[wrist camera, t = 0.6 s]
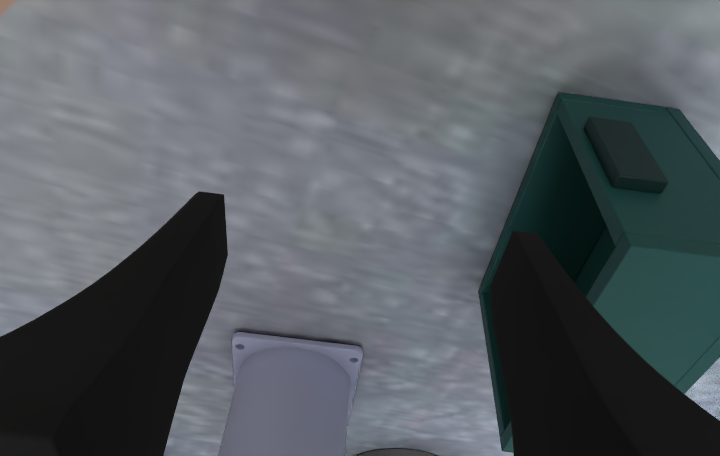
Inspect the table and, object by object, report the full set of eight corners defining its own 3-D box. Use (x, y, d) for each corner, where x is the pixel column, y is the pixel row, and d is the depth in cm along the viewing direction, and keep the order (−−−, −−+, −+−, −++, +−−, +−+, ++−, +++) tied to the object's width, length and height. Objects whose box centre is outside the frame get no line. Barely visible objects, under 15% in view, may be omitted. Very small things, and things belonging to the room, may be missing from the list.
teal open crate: (564, 308, 30) (612, 469, 23) (475, 297, 30) (497, 457, 23) (686, 96, 21) (818, 256, 15) (562, 79, 21) (639, 232, 14)
